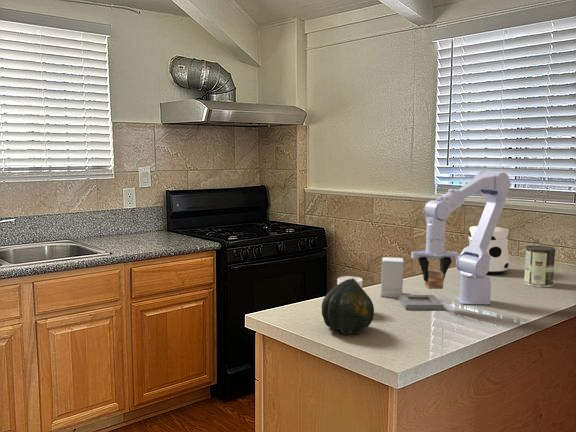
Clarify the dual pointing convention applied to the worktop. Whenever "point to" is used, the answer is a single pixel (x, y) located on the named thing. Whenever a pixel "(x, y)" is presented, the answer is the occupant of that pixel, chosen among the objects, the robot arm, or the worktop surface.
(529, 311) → the worktop surface
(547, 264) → the coffee can
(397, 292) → the supplement box
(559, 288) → the worktop surface
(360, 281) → the white cup
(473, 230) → the milk container
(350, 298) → the squash
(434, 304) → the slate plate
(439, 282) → the brown block
